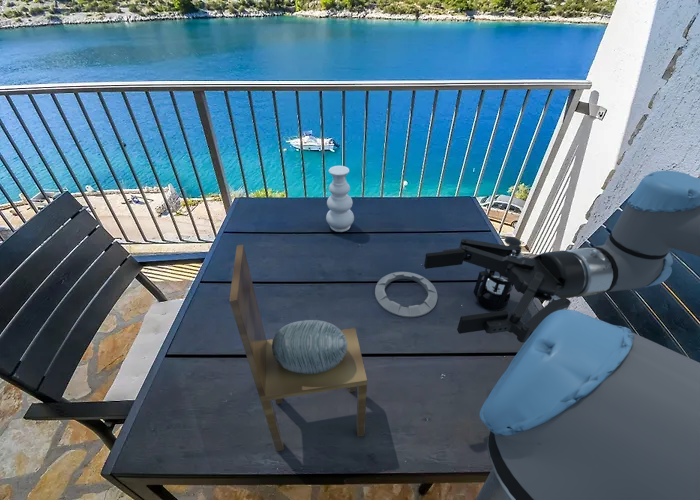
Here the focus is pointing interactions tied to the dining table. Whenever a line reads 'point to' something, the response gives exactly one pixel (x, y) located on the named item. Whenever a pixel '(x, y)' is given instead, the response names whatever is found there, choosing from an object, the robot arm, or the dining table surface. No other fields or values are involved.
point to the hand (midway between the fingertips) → (440, 290)
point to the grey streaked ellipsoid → (309, 346)
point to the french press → (495, 285)
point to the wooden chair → (272, 375)
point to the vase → (339, 201)
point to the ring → (396, 308)
